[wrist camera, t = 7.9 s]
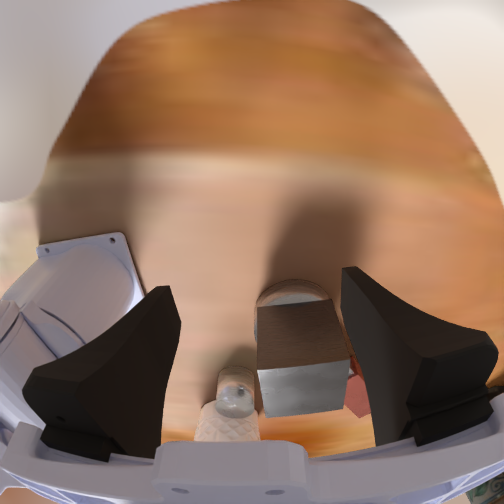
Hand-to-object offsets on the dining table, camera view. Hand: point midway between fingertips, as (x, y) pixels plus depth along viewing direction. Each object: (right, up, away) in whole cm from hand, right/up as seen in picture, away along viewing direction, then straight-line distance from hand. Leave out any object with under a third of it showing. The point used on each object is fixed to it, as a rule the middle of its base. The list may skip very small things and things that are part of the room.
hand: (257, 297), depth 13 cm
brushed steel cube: (+3, -4, +10) cm, 12 cm away
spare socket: (-2, -11, +17) cm, 20 cm away
